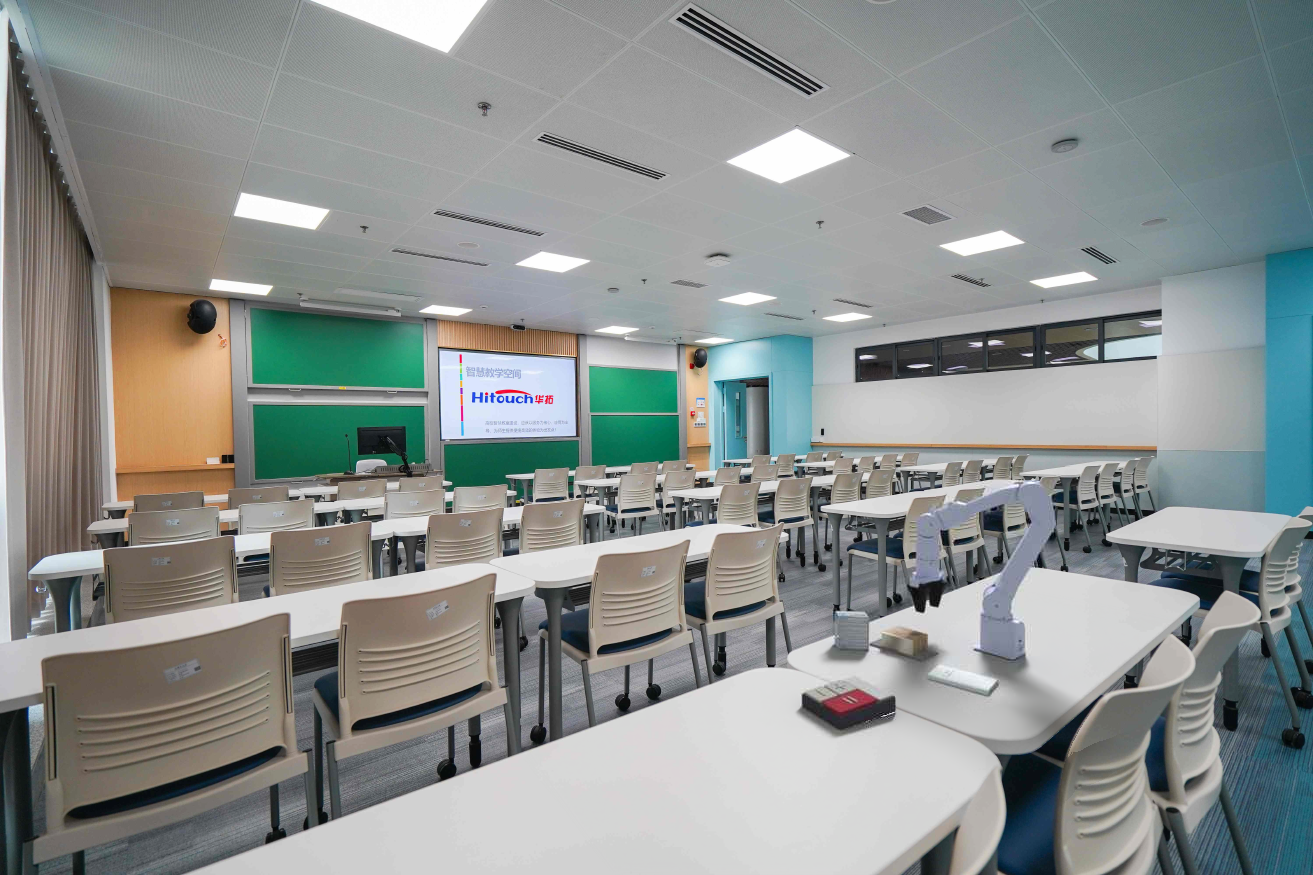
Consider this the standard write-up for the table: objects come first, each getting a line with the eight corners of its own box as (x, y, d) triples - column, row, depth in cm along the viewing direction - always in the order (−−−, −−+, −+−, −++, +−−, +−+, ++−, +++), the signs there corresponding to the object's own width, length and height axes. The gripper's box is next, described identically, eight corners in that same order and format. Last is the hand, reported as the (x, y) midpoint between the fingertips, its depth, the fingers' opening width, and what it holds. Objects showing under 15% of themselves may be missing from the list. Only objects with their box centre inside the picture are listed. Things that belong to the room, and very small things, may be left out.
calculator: (800, 689, 121) (854, 672, 128) (801, 710, 121) (855, 691, 128) (839, 713, 111) (896, 692, 118) (840, 735, 112) (897, 714, 118)
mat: (937, 653, 149) (937, 652, 149) (921, 661, 144) (921, 659, 144) (886, 637, 160) (886, 636, 160) (869, 644, 155) (869, 642, 155)
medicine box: (865, 644, 155) (865, 611, 155) (869, 650, 151) (869, 616, 151) (834, 643, 156) (834, 610, 156) (837, 649, 152) (837, 615, 152)
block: (927, 634, 152) (911, 641, 147) (927, 647, 152) (911, 655, 147) (898, 625, 158) (881, 632, 153) (898, 638, 158) (881, 645, 153)
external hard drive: (988, 698, 126) (927, 680, 135) (998, 685, 132) (939, 669, 141) (988, 690, 126) (927, 673, 135) (998, 678, 132) (939, 663, 141)
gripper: (926, 552, 167) (926, 600, 167) (899, 559, 158) (898, 610, 158) (952, 556, 161) (951, 606, 161) (925, 564, 152) (924, 617, 152)
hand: (927, 609), depth 159 cm, fingers open, 7 cm apart
